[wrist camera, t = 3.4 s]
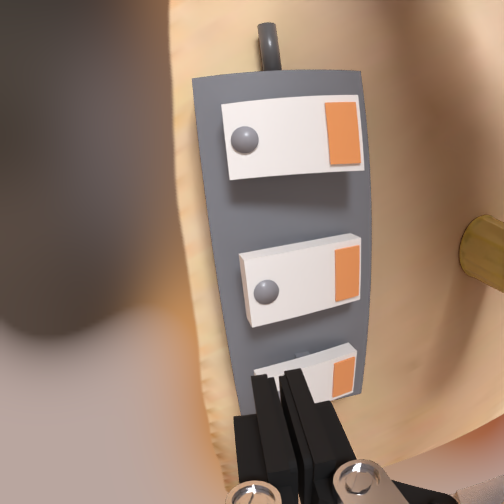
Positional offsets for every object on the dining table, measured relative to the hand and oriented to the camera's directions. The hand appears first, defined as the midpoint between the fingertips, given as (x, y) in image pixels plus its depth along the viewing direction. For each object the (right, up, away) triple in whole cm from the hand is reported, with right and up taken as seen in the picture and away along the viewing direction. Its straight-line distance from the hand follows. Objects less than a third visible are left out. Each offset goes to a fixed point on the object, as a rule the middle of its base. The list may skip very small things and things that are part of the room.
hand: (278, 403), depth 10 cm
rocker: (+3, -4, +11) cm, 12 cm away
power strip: (+1, +7, +13) cm, 15 cm away
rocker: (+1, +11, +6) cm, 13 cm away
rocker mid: (+2, +4, +8) cm, 9 cm away
